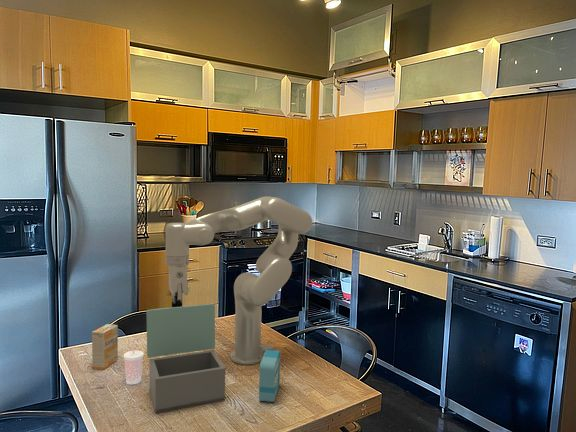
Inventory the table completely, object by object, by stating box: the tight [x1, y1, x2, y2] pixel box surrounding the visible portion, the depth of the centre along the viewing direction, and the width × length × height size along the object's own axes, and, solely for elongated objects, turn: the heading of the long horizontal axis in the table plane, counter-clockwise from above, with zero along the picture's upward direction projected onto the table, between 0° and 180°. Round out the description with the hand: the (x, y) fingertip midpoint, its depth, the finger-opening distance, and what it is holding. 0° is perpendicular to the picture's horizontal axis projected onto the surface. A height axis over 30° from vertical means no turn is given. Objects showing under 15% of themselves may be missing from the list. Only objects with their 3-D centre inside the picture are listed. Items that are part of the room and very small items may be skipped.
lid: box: [146, 303, 216, 359], centre depth 137 cm, size 21×15×1 cm
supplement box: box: [91, 323, 119, 371], centre depth 150 cm, size 8×5×13 cm, turn 168°
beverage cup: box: [123, 338, 144, 385], centre depth 138 cm, size 6×6×14 cm
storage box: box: [149, 349, 226, 414], centre depth 131 cm, size 20×14×10 cm
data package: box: [258, 349, 281, 403], centre depth 133 cm, size 12×4×12 cm, turn 173°
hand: (176, 313), depth 145 cm, fingers closed
